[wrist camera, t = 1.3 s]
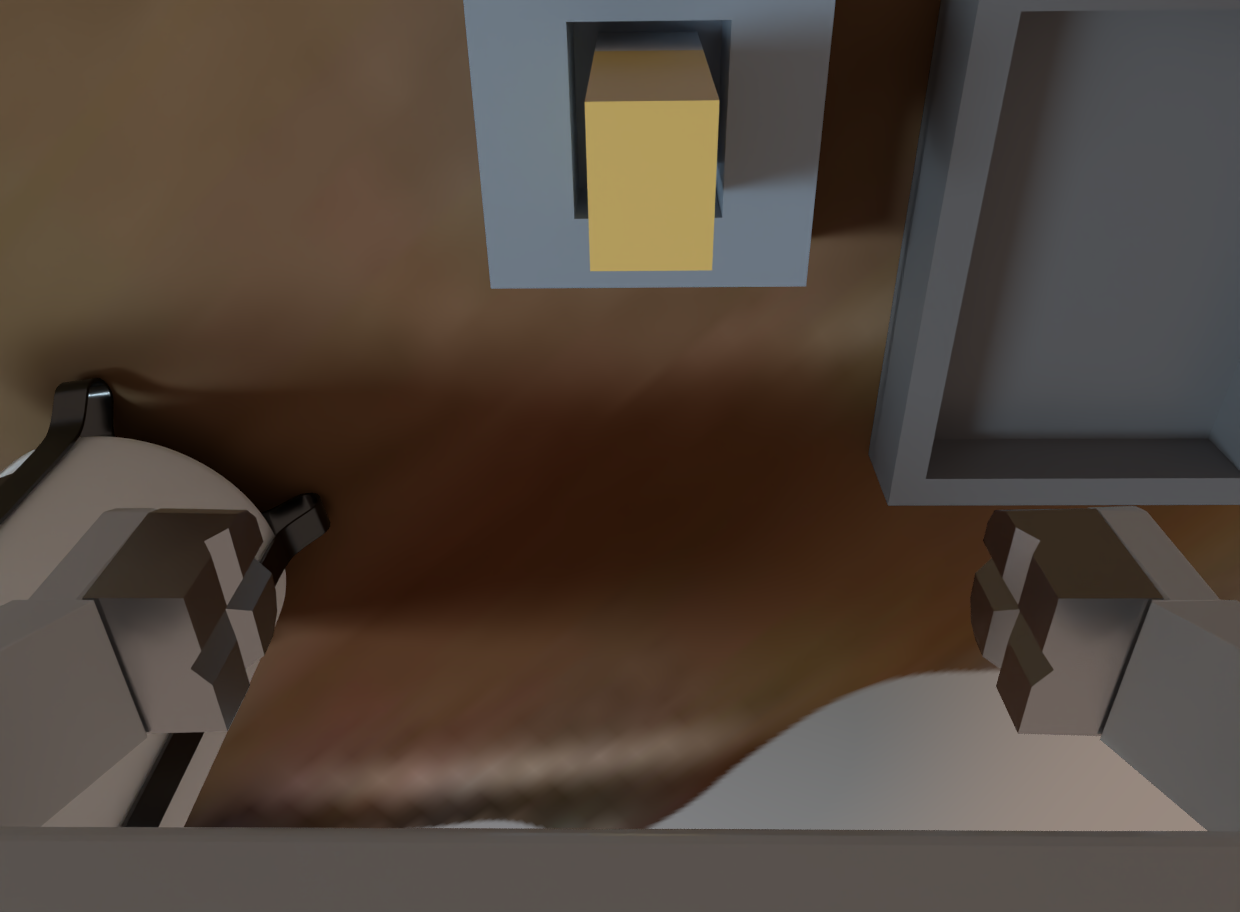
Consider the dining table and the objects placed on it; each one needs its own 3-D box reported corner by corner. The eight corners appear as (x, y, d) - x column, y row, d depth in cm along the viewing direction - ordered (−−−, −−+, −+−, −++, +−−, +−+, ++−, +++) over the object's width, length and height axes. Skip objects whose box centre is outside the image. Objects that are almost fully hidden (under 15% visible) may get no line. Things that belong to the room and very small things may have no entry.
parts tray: (948, -51, 28) (986, -38, 25) (1425, -57, 28) (1519, -45, 25) (868, 454, 38) (887, 505, 35) (1218, 453, 37) (1267, 504, 34)
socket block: (478, -82, 27) (456, -72, 24) (817, -87, 27) (843, -77, 24) (505, 243, 33) (491, 288, 30) (788, 241, 33) (805, 286, 29)
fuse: (597, 32, 28) (584, 101, 21) (696, 31, 28) (719, 100, 21) (601, 165, 30) (589, 271, 23) (693, 164, 30) (711, 270, 23)
